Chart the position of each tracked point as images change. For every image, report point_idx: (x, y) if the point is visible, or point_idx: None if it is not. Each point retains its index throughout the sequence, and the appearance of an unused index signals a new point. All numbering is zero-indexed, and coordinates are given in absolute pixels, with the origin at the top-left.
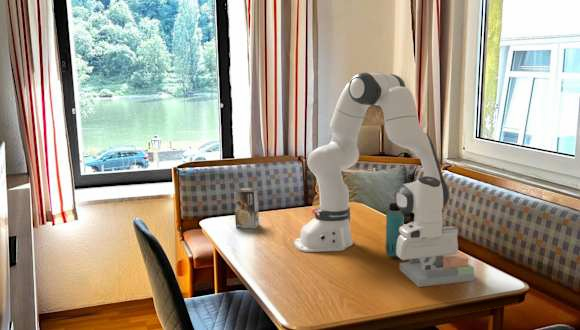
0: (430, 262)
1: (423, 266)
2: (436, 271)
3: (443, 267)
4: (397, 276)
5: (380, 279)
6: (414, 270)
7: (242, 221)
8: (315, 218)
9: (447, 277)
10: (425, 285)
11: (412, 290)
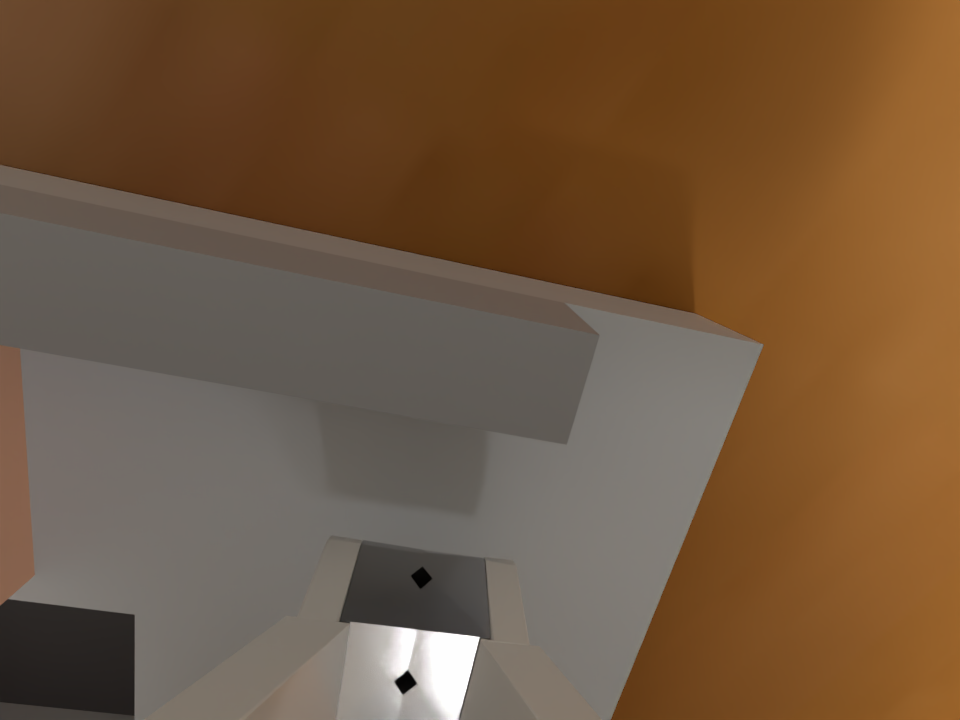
0: (309, 697)
1: (519, 633)
2: (388, 303)
3: (16, 572)
4: (670, 668)
5: (881, 671)
6: None
7: None
8: None
9: (162, 217)
10: (596, 292)
11: (855, 252)
